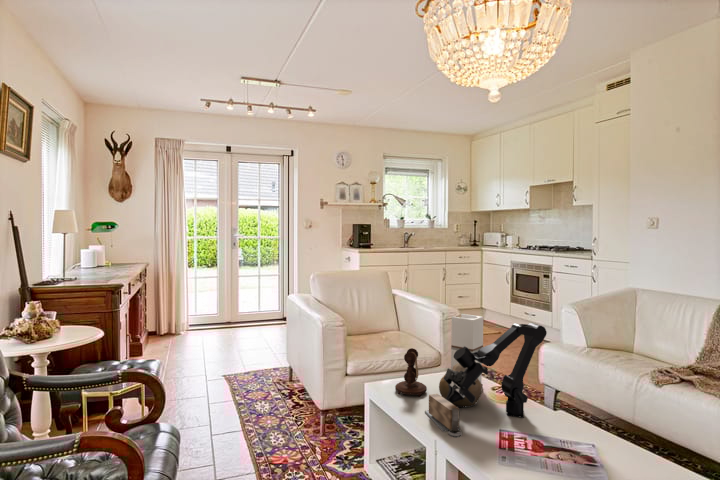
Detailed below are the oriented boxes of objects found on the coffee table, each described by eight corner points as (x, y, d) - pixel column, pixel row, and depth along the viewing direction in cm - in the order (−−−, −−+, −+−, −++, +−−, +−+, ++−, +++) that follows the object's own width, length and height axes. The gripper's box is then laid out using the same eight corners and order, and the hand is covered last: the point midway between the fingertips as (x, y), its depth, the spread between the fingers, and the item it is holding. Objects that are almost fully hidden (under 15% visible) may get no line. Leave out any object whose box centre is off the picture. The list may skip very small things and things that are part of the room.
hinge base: (462, 432, 165) (462, 430, 165) (460, 438, 160) (460, 436, 160) (449, 430, 167) (449, 428, 167) (447, 435, 162) (447, 433, 162)
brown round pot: (477, 396, 202) (479, 359, 201) (484, 412, 185) (486, 372, 184) (434, 393, 204) (435, 357, 203) (437, 409, 187) (438, 369, 186)
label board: (459, 429, 167) (459, 426, 167) (442, 431, 165) (442, 428, 165) (440, 410, 185) (440, 408, 185) (424, 412, 183) (424, 409, 183)
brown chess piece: (424, 399, 197) (424, 355, 197) (392, 395, 201) (392, 352, 201) (428, 388, 211) (428, 347, 211) (398, 385, 216) (398, 345, 215)
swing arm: (461, 429, 163) (461, 410, 163) (452, 431, 162) (452, 411, 161) (437, 411, 180) (437, 393, 179) (428, 412, 178) (428, 394, 178)
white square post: (482, 388, 212) (483, 316, 211) (472, 394, 204) (473, 319, 203) (461, 382, 219) (462, 313, 219) (450, 388, 211) (451, 316, 211)
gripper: (447, 355, 184) (423, 383, 182) (468, 369, 166) (441, 400, 164) (464, 372, 186) (440, 400, 184) (487, 388, 168) (460, 419, 166)
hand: (444, 404), depth 174 cm, fingers closed, pressing on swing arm
